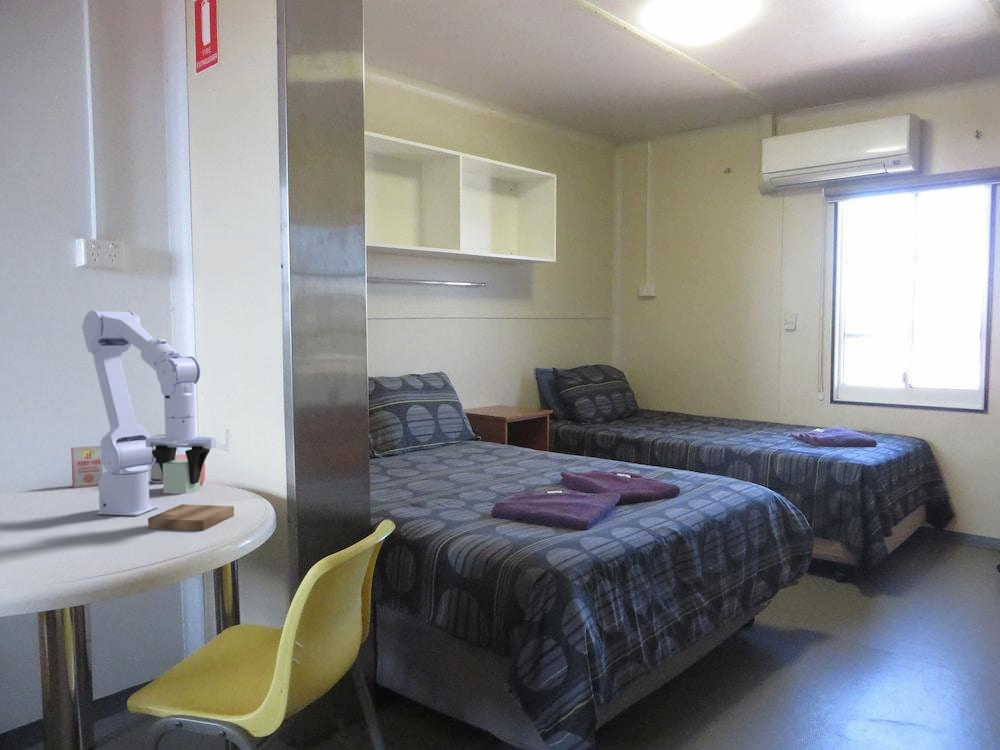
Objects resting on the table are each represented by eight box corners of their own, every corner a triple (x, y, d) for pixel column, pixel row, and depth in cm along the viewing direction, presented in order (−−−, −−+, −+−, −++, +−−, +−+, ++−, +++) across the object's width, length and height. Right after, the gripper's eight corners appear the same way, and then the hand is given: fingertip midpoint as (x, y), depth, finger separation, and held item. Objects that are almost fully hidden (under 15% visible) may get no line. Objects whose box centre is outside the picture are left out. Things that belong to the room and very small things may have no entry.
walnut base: (148, 528, 153) (147, 518, 153) (182, 513, 165) (181, 504, 165) (203, 530, 151) (203, 520, 151) (234, 515, 163) (233, 506, 163)
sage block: (163, 492, 154) (162, 463, 154) (178, 487, 159) (177, 459, 159) (186, 493, 153) (185, 464, 153) (200, 488, 158) (199, 459, 158)
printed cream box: (72, 485, 194) (71, 446, 193) (102, 482, 197) (101, 444, 196) (72, 488, 191) (71, 448, 190) (103, 485, 194) (101, 446, 193)
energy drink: (164, 484, 195) (163, 437, 194) (146, 483, 196) (144, 437, 195) (177, 480, 200) (176, 434, 200) (159, 479, 201) (158, 434, 201)
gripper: (135, 418, 153) (137, 485, 154) (202, 419, 150) (204, 487, 151) (156, 414, 160) (158, 478, 161) (220, 415, 157) (222, 480, 158)
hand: (182, 482), depth 156 cm, fingers closed on sage block, 5 cm apart
